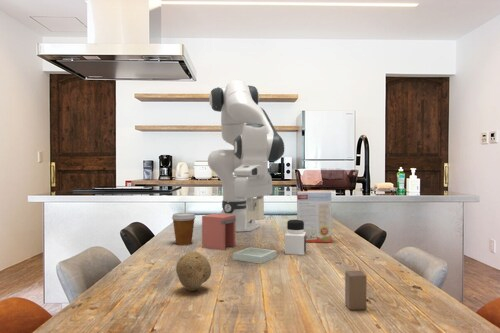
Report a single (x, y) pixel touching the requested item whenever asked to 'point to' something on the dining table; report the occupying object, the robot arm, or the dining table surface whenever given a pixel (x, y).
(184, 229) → the disposable coffee cup
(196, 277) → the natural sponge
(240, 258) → the dish
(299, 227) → the medicine bottle
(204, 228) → the block
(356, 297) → the wooden block
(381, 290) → the dining table surface
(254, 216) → the tall beige block
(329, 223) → the cracker box
